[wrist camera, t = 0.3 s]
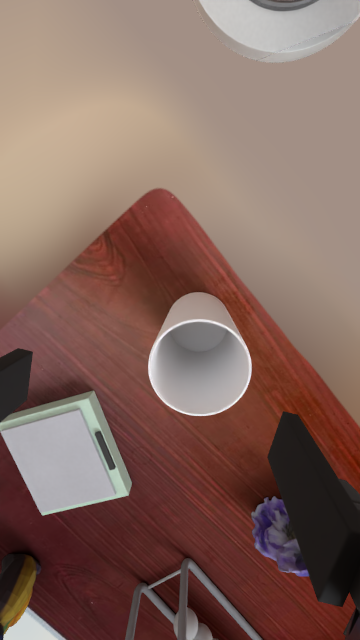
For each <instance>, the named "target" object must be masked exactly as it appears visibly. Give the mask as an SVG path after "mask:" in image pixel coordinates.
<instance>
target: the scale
mask: <svg viewBox="0 0 360 640" xmlns="http://www.w3.org/2000/svg"><path fill="white" fill-rule="evenodd" d="M0 432H1V434H2V436H3V438H4V440H5V442H6V444H7V446H8V448H9V450H10V452H11V454H12V456H13V458H14V460H15V462H16V464H17V466H18V469H19V471H20V473H21V475H22V477H23V479H24V481H25V483H26V485H27V487H28V489H29V491H30V493H31V495H32V497H33V499H34V501H35V503H36V505H37V507H38V509H39V511H40V513H41V514H42V515H47V514H51V513H55V512H60V511H64V510H68V509H72V508H77V507H81V506H85V505H89V504H94V503H98V502H102V501H107V500H111V499H115V498H119V497H124V496H128V495H129V492H130V488H131V485H132V482H131V479H130V477H129V474H128V472H127V470H126V467H125V465H124V462H123V460H122V457H121V455H120V452H119V450H118V448H117V445H116V443H115V440H114V438H113V435H112V433H111V431H110V428H109V426H108V423H107V421H106V418H105V416H104V413H103V411H102V409H101V406H100V404H99V401H98V399H97V396H96V394H95V392H94V390H93V391H90V392H86V393H83V394H79V395H76V396H72V397H69V398H65V399H62V400H58V401H55V402H51V403H48V404H44V405H40V406H37V407H33V408H30V409H26V410H23V411H19V412H16V413H12V414H10V415H8V416H7V417H6V418H5V419H4V420H3V421H1V422H0Z"/></svg>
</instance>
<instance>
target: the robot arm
mask: <svg viewBox="0 0 360 640" xmlns="http://www.w3.org/2000/svg"><path fill="white" fill-rule="evenodd" d="M250 1H251V2H253V3H254V4H256V5H258V6H260V7H263V8H265V9H269V10H273V11H293V10H298V9H301V8H304V7H307V6H309V5H311V4H313V3H315V2H317V1H319V0H250ZM32 354H33V352H32V351H28V350H23V349H19V348H18V349H16V350H14V351H12V352H10V353H8V354H6V355H4V356H3V357H1V358H0V422H1V421H3V420H4V419H5V418H6V417H7V416H8V415H10V414H11V413H12V412H13V411H14V410H15V409H17V408H18V407H19V406H20V405H21V404H22V403H24V402H25V401H26V400H27V395H28V387H29V378H30V370H31V362H32ZM268 460H269V463H270V466H271V469H272V471H273V474H274V477H275V480H276V483H277V486H278V489H279V491H280V494H281V497H282V500H283V503H284V506H285V508H286V511H287V514H288V517H289V520H290V523H291V525H292V528H293V531H294V534H295V537H296V540H297V543H298V545H299V548H300V551H301V554H302V557H303V560H304V562H305V565H306V568H307V571H308V574H309V577H310V580H311V582H312V585H313V588H314V591H315V594H316V597H317V599H318V601H319V602H324V603H328V604H332V605H336V606H340V607H342V606H343V604H344V602H345V600H346V598H347V596H348V594H349V592H350V594H351V597H352V599H353V601H354V603H355V605H356V608H355V610H354V612H353V614H352V617H351V619H350V621H349V623H348V625H347V627H346V629H345V631H344V633H343V634H344V635H345V636H346V637H345V640H360V495H359V493H358V492H357V491H356V490H355V489H354V488H353V487H352V486H351V485H350V484H349V483H348V482H347V481H346V480H341V479H338V477H337V476H336V474H335V473H334V471H333V469H332V468H331V466H330V465H329V463H328V462H327V460H326V458H325V457H324V455H323V454H322V452H321V451H320V449H319V447H318V446H317V444H316V443H315V441H314V440H313V438H312V436H311V435H310V433H309V432H308V430H307V428H306V427H305V425H304V424H303V422H302V421H301V419H300V417H299V416H298V415H296V414H292V413H288V412H284V411H283V413H282V416H281V419H280V422H279V425H278V428H277V431H276V434H275V437H274V439H273V442H272V445H271V448H270V451H269V454H268Z"/></svg>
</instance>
